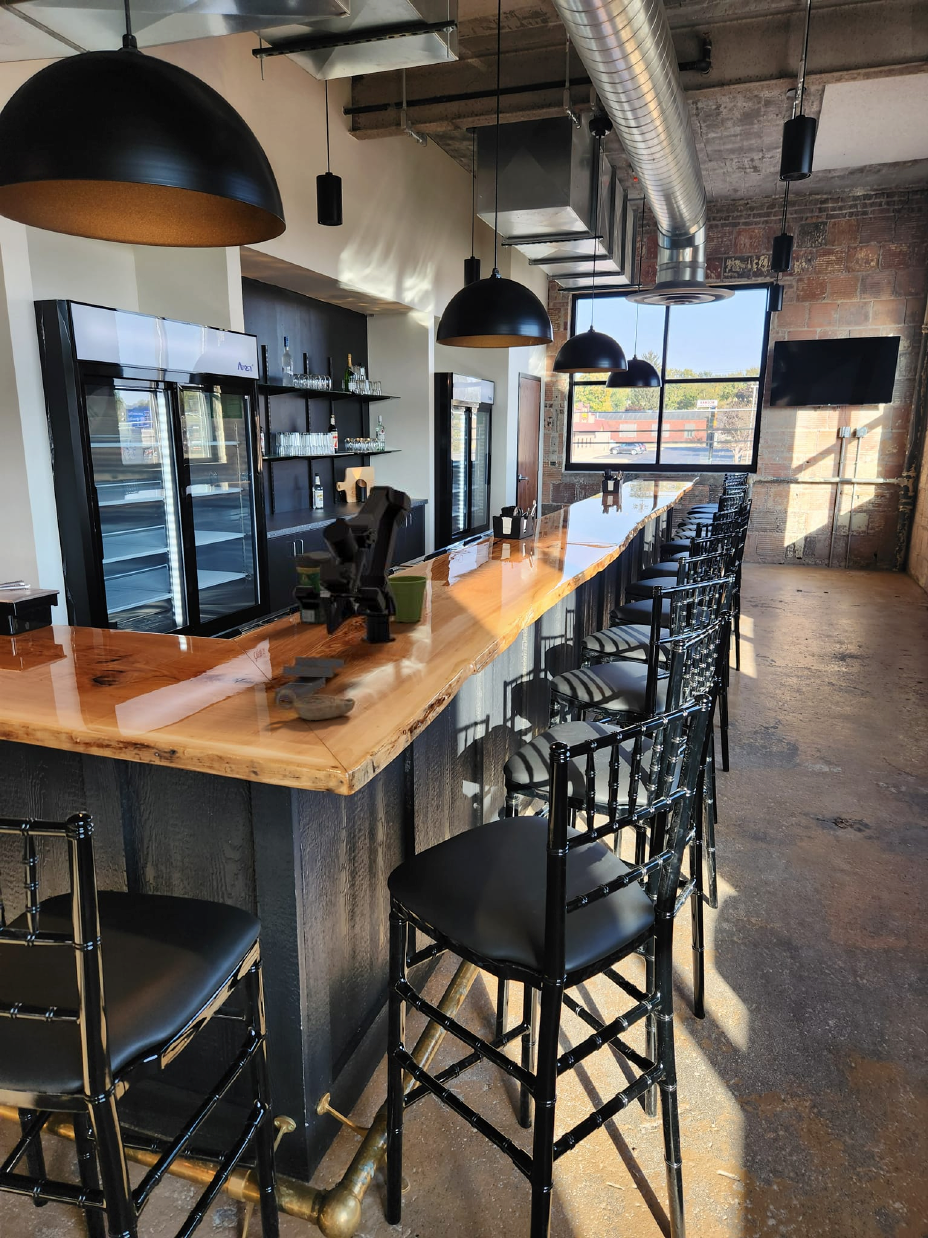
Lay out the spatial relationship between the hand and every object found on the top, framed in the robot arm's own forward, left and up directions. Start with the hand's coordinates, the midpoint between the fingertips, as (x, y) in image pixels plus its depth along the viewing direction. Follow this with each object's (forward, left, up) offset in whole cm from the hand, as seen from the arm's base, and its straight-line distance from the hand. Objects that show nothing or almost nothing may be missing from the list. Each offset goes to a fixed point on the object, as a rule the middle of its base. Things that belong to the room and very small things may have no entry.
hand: (329, 633), depth 159 cm
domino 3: (0, 0, -6) cm, 6 cm away
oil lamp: (+25, -13, -8) cm, 29 cm away
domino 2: (+6, -6, -7) cm, 11 cm away
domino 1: (+3, -3, -7) cm, 8 cm away
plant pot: (-36, +36, -8) cm, 52 cm away
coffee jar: (-49, +16, -8) cm, 52 cm away
